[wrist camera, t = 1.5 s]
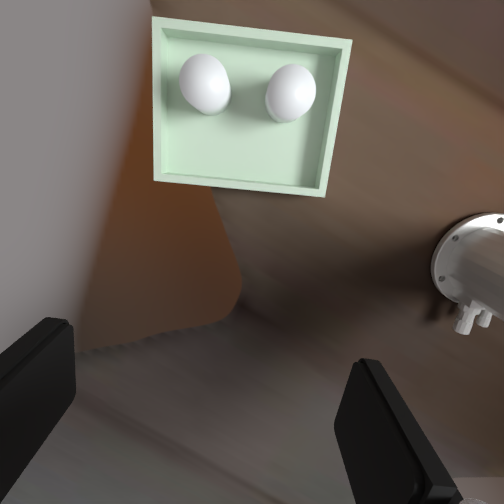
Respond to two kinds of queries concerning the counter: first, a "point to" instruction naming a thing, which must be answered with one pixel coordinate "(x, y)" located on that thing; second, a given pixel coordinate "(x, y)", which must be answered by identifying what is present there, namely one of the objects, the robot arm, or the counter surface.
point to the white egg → (205, 84)
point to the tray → (245, 109)
